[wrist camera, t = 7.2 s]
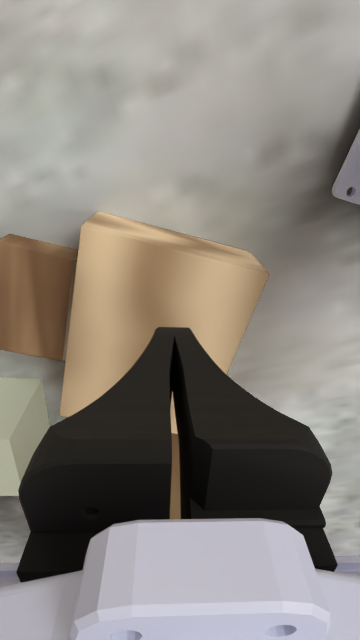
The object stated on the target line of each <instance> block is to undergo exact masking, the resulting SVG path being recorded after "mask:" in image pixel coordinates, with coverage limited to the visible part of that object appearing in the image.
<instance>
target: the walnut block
mask: <svg viewBox="0 0 360 640" xmlns="http://www.w3.org/2000/svg"><path fill="white" fill-rule="evenodd" d="M77 258H78V250H75V249H71V248H67V247H62V246H58V245H54V244H50V243H46V242H42V241H38V240H33V239H29V238H25V237H21V236H17V235H13V234H9V235H7V236H5V237H3V238H1V239H0V350H6V351H11V352H16V353H22V354H27V355H33V356H38V357H44V358H49V359H55V360H60V361H65V362H66V354H67V345H68V337H69V328H70V319H71V311H72V302H73V293H74V284H75V276H76V267H77Z"/></svg>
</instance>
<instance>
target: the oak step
mask: <svg viewBox="0 0 360 640" xmlns="http://www.w3.org/2000/svg"><path fill="white" fill-rule="evenodd" d="M268 276H269V273H268V272H267V271H266V269H265V268H264V267H263V266H262V265H261V264H260V263H259V261H258V260H257V259H256V258H255V257H254V256H253V255H252V253H251V252H249V251H246V250H242V249H238V248H234V247H230V246H227V245H223V244H219V243H215V242H212V241H208V240H204V239H200V238H196V237H193V236H189V235H185V234H181V233H178V232H174V231H170V230H166V229H163V228H159V227H155V226H151V225H147V224H144V223H140V222H136V221H132V220H129V219H125V218H121V217H117V216H113V215H110V214H106V213H102V212H97V213H96V214H95V215H94V216H92V217H91V218H90V219H89V220H88V221H86V222H85V223H84V224H83V225H82V226H81V232H80V241H79V250H78V258H77V267H76V276H75V284H74V293H73V302H72V311H71V319H70V328H69V337H68V345H67V354H66V363H65V372H64V380H63V389H62V398H61V406H60V415H59V416H65V417H70V416H71V415H73V414H75V413H77V412H78V411H80V410H82V409H83V408H85V407H86V406H88V405H89V404H91V403H92V402H94V401H95V400H97V399H98V398H99V397H101V396H102V395H103V394H104V393H106V392H107V391H108V390H109V389H110V388H111V387H112V386H114V385H115V384H116V383H117V382H118V381H119V380H120V379H121V378H122V377H123V376H124V375H125V374H126V373H127V372H128V371H129V369H130V368H131V367H132V366H133V365H134V363H135V362H136V361H137V360H138V358H139V357H140V356H141V354H142V353H143V351H144V350H145V348H146V347H147V345H148V344H149V342H150V340H151V338H152V336H153V334H154V332H155V329H156V328H158V327H189V328H190V329H191V330H192V332H193V333H194V335H195V337H196V338H197V340H198V341H199V343H200V344H201V346H202V347H203V348H204V350H205V351H206V352H207V354H208V355H209V356H210V357H211V359H212V360H213V361H214V362H215V363H216V364H217V365H218V367H219V368H220V369H221V370H222V371H223V372H224V373H225V374H227V372H228V370H229V367H230V365H231V363H232V360H233V358H234V356H235V353H236V351H237V349H238V346H239V344H240V342H241V339H242V337H243V335H244V332H245V330H246V328H247V325H248V323H249V321H250V318H251V316H252V314H253V311H254V309H255V307H256V304H257V302H258V300H259V297H260V295H261V293H262V290H263V288H264V286H265V283H266V281H267V279H268ZM170 415H171V433H175V434H178V433H177V425H176V417H175V409H174V401H173V392H172V399H171V409H170Z"/></svg>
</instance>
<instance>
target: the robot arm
mask: <svg viewBox="0 0 360 640" xmlns="http://www.w3.org/2000/svg"><path fill="white" fill-rule="evenodd" d="M350 187H352V192H351V194H350V195H348V196H347V190H348V189H349V188H350ZM332 194H333V196H334V197H336V198H339V199H342V200H345V201H349V202H352V203H355V204H358V205H360V129H359V131H358V133H357V136H356V138H355V140H354V142H353V144H352V146H351V148H350V151H349V153H348V155H347V157H346V159H345V161H344V164H343V166H342V168H341V170H340V172H339V174H338V176H337V179H336V181H335V183H334V185H333V188H332ZM172 392H173V401H174V409H175V417H176V425H177V433H178V443H179V466H180V513H181V519H170V499H171V476H172V434H171V415H170V409H171V399H172ZM331 476H332V469H331V464H330V462H329V460H328V458H327V456H326V455H325V453H324V451H323V449H322V447H321V445H320V444H319V442H318V440H317V439H316V437H315V436H314V434H313V433H312V431H311V430H310V428H309V427H308V426H306V425H304V424H302V423H300V422H298V421H296V420H294V419H292V418H290V417H288V416H286V415H284V414H282V413H280V412H278V411H276V410H275V409H273V408H271V407H269V406H268V405H266V404H264V403H263V402H261V401H260V400H258V399H257V398H255V397H254V396H252V395H251V394H250V393H248V392H247V391H245V390H244V389H243V388H241V387H240V386H239V385H238V384H236V383H235V382H234V381H233V380H232V379H231V378H229V377H228V376H227V375H226V374H225V373H224V372H223V371H222V370H221V369H220V368H219V367H218V365H217V364H216V363H215V362H214V361H213V360H212V359H211V357H210V356H209V355H208V354H207V352H206V351H205V350H204V348H203V347H202V346H201V344H200V343H199V341H198V340H197V338H196V337H195V335H194V333H193V332H192V330H191V329H190V328H189V327H158V328H156V329H155V332H154V334H153V336H152V338H151V340H150V342H149V344H148V345H147V347H146V348H145V350H144V351H143V353H142V354H141V356H140V357H139V358H138V360H137V361H136V362H135V363H134V365H133V366H132V367H131V368H130V369H129V371H128V372H127V373H126V374H125V375H124V376H123V377H122V378H121V379H120V380H119V381H118V382H117V383H116V384H115V385H114V386H112V387H111V388H110V389H109V390H108V391H107V392H106V393H104V394H103V395H102V396H101V397H99V398H98V399H97V400H95V401H94V402H92V403H91V404H89V405H88V406H86V407H85V408H83V409H82V410H80V411H78V412H77V413H75V414H73V415H71V416H70V417H68V418H66V419H64V420H62V421H60V422H59V423H57V424H55V425H53V426H51V427H49V429H48V430H47V432H46V434H45V435H44V437H43V438H42V440H41V442H40V443H39V445H38V447H37V448H36V450H35V452H34V454H33V456H32V458H31V460H30V462H29V464H28V467H27V469H26V471H25V474H24V476H23V478H22V480H21V483H20V486H19V489H18V492H19V500H20V503H21V505H22V508H23V511H24V514H25V516H26V519H27V522H28V525H29V528H30V530H31V533H30V535H29V538H28V541H27V544H26V546H25V549H24V552H23V555H22V557H21V560H20V563H0V640H360V555H359V556H334V554H333V552H332V549H331V547H330V544H329V542H328V540H327V537H326V535H325V532H324V530H323V528H324V527H325V525H326V522H325V518H324V516H323V514H322V511H321V509H320V507H319V506H320V504H321V501H322V499H323V497H324V495H325V492H326V490H327V488H328V486H329V483H330V480H331Z"/></svg>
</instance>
